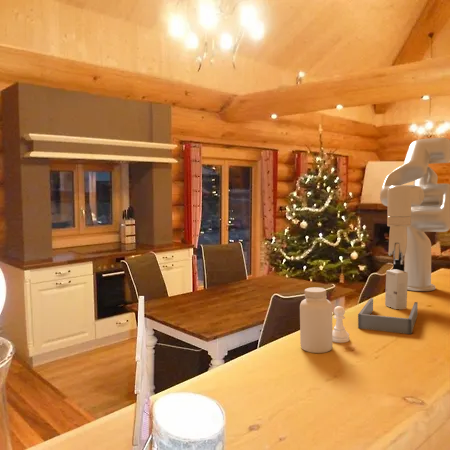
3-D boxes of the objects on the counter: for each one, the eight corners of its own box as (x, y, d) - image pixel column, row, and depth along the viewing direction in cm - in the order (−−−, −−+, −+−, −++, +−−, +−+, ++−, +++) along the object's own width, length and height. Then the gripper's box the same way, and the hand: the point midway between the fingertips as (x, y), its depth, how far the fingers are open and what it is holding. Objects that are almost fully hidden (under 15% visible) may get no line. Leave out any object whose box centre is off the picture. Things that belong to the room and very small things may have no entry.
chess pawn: (326, 338, 121) (325, 305, 121) (342, 335, 123) (342, 303, 122) (336, 344, 117) (335, 309, 116) (353, 341, 118) (353, 307, 117)
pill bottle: (297, 351, 112) (296, 292, 111) (304, 341, 119) (303, 285, 118) (329, 355, 109) (329, 294, 108) (334, 344, 116) (334, 286, 115)
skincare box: (384, 305, 152) (384, 269, 151) (395, 304, 153) (395, 268, 152) (396, 310, 146) (396, 273, 145) (408, 308, 147) (408, 271, 146)
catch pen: (370, 310, 147) (370, 298, 146) (417, 314, 140) (417, 302, 140) (358, 328, 129) (358, 314, 129) (411, 334, 122) (411, 319, 122)
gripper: (390, 220, 162) (389, 272, 163) (384, 222, 148) (383, 278, 149) (413, 221, 158) (412, 273, 159) (408, 223, 145) (407, 280, 146)
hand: (398, 275), depth 154 cm, fingers closed
